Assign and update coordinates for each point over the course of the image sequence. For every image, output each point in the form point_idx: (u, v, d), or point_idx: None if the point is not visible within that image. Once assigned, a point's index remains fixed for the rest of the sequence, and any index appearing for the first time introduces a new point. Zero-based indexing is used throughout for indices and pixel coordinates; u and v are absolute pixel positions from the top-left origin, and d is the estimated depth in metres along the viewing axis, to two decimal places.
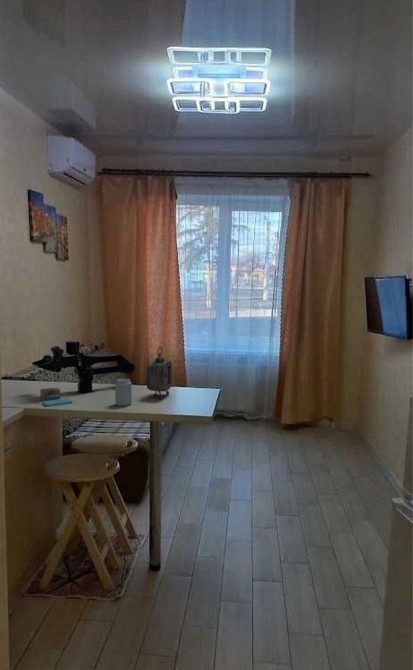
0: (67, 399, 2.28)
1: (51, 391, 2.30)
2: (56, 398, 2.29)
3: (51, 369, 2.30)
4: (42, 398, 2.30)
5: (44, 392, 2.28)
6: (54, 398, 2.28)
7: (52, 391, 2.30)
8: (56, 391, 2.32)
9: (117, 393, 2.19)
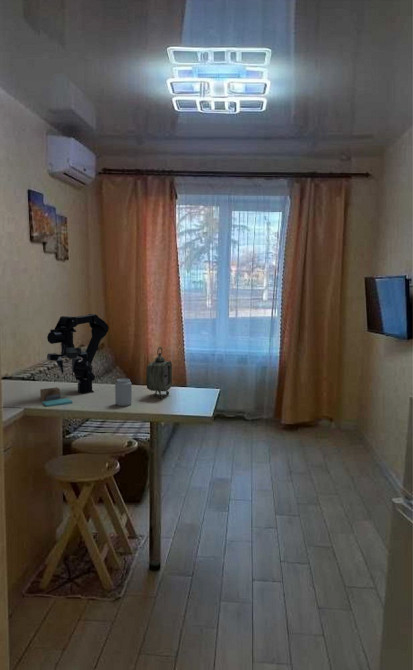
0: (67, 399, 2.28)
1: (51, 391, 2.30)
2: (56, 398, 2.29)
3: None
4: (42, 398, 2.30)
5: (44, 392, 2.28)
6: (54, 398, 2.28)
7: (52, 391, 2.30)
8: (56, 391, 2.32)
9: (117, 393, 2.19)
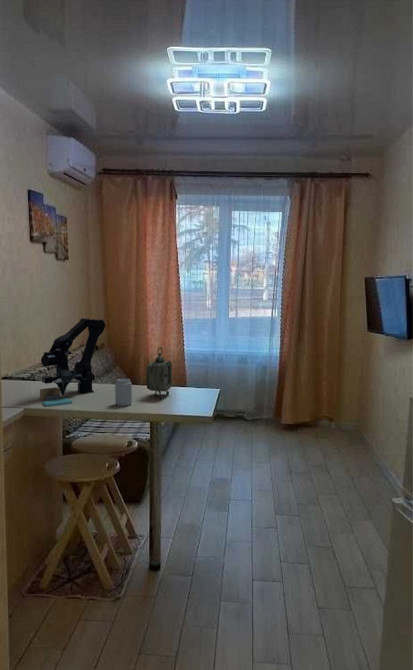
0: (67, 399, 2.28)
1: (51, 391, 2.30)
2: (56, 398, 2.29)
3: None
4: (42, 398, 2.29)
5: (44, 392, 2.28)
6: (54, 398, 2.28)
7: (52, 391, 2.30)
8: (56, 391, 2.32)
9: (117, 393, 2.19)
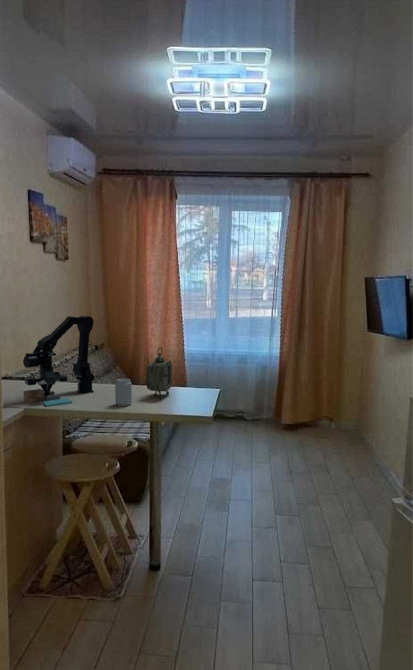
0: (67, 399, 2.28)
1: (34, 393, 2.26)
2: (56, 398, 2.29)
3: None
4: (25, 399, 2.25)
5: (27, 394, 2.24)
6: (54, 398, 2.28)
7: (35, 393, 2.26)
8: (39, 393, 2.27)
9: (117, 393, 2.19)
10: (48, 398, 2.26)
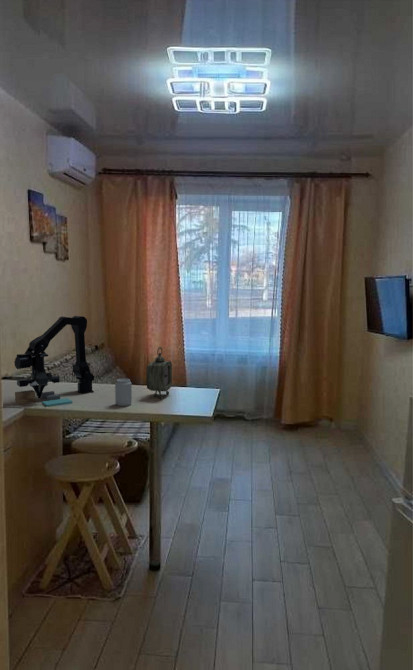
0: (67, 399, 2.28)
1: (26, 394, 2.23)
2: (56, 398, 2.29)
3: None
4: (16, 401, 2.23)
5: (19, 395, 2.21)
6: (54, 398, 2.28)
7: (27, 394, 2.24)
8: (31, 394, 2.25)
9: (117, 393, 2.19)
10: (48, 398, 2.26)
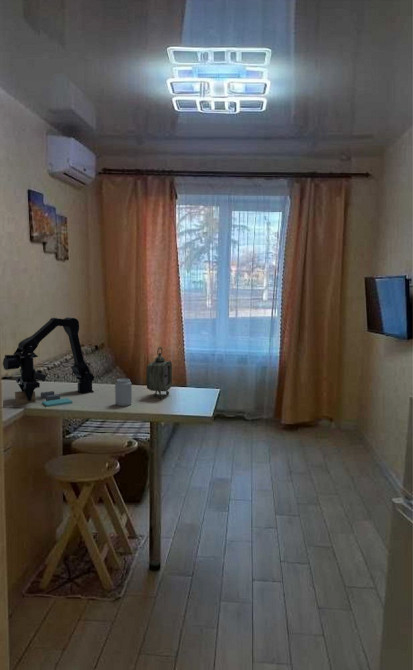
0: (67, 399, 2.28)
1: None
2: (56, 398, 2.29)
3: None
4: (16, 401, 2.23)
5: (18, 395, 2.21)
6: (54, 398, 2.28)
7: None
8: None
9: (117, 393, 2.19)
10: (48, 398, 2.26)
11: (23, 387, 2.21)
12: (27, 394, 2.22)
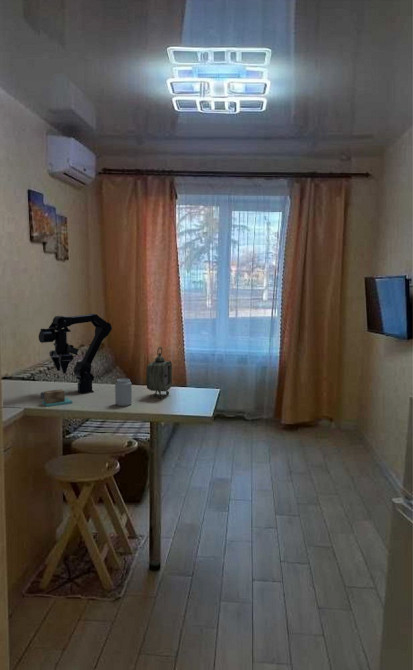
0: (67, 399, 2.28)
1: (55, 393, 2.21)
2: None
3: None
4: (46, 400, 2.20)
5: (48, 394, 2.19)
6: None
7: (56, 393, 2.21)
8: (61, 393, 2.22)
9: (117, 393, 2.19)
10: None
11: (59, 360, 2.31)
12: (62, 367, 2.32)
